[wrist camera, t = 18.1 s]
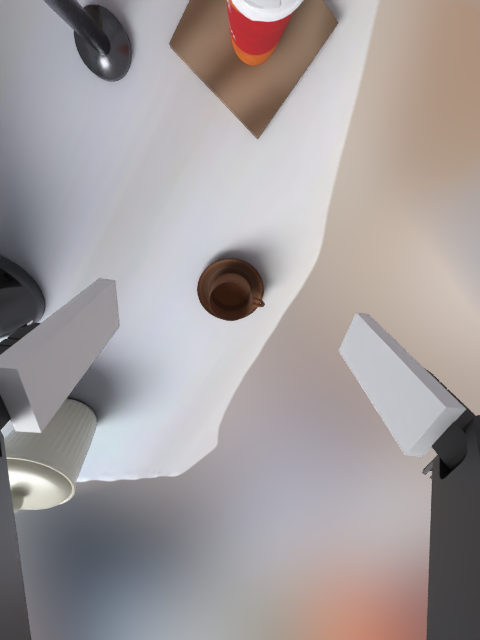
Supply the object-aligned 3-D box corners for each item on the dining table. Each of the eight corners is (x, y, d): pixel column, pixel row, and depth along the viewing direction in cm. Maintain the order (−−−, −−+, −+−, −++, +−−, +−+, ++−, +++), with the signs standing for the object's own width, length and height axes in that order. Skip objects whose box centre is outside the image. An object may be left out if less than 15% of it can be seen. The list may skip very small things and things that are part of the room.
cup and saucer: (261, 253, 43) (266, 263, 37) (263, 313, 49) (267, 329, 43) (193, 258, 43) (188, 269, 37) (203, 317, 49) (200, 334, 43)
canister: (122, 408, 61) (77, 507, 43) (91, 443, 67) (40, 542, 49) (47, 374, 54) (-45, 474, 36) (20, 417, 61) (-68, 519, 43)
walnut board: (171, 48, 30) (169, 43, 28) (245, -105, 24) (246, -117, 23) (257, 139, 34) (258, 138, 33) (334, 28, 29) (338, 22, 28)
